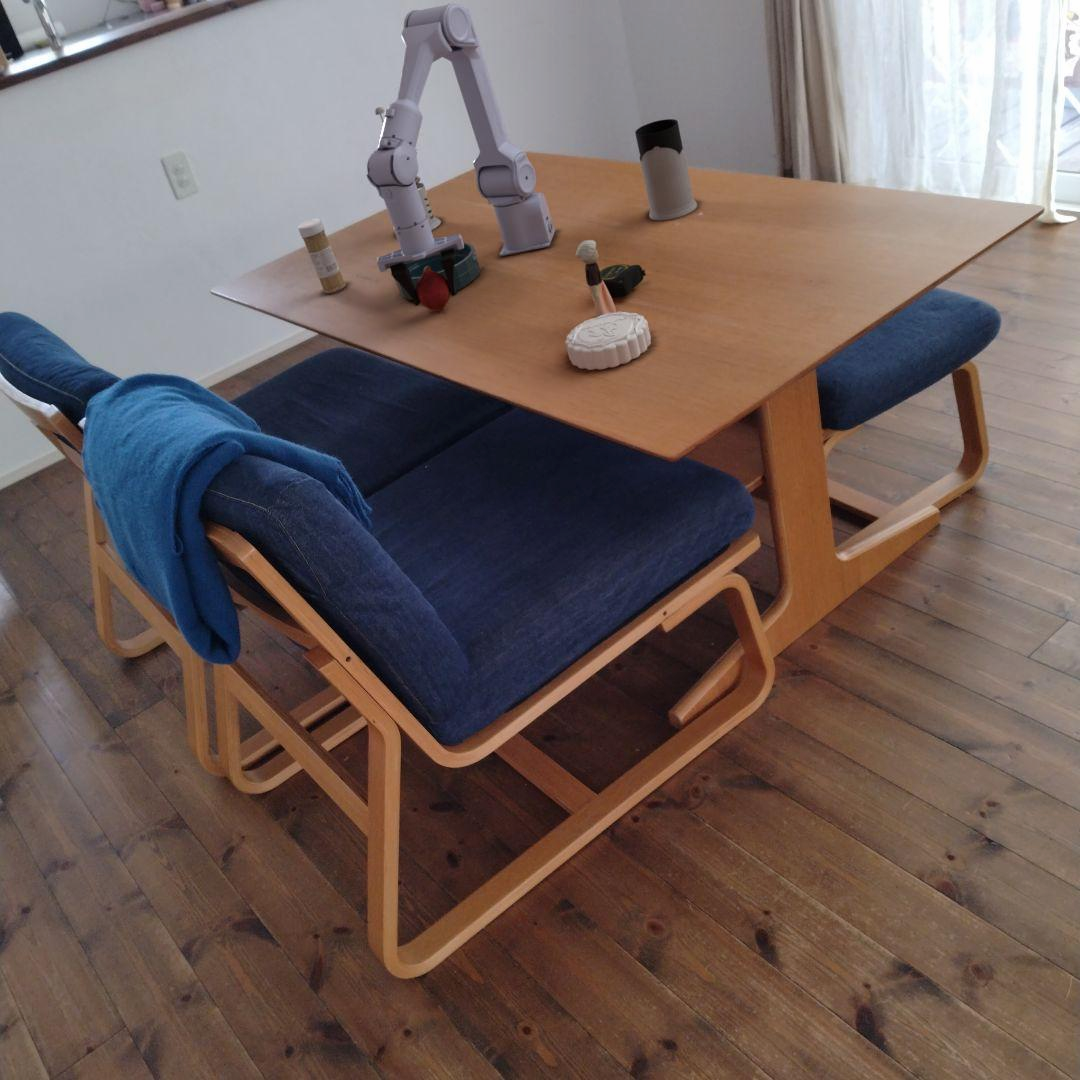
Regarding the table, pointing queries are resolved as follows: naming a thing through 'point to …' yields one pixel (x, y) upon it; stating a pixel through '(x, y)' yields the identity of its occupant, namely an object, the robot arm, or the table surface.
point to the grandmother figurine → (595, 278)
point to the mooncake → (608, 340)
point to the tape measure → (621, 279)
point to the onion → (433, 290)
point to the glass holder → (665, 170)
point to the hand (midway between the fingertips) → (435, 298)
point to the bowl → (463, 269)
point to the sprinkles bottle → (321, 255)
